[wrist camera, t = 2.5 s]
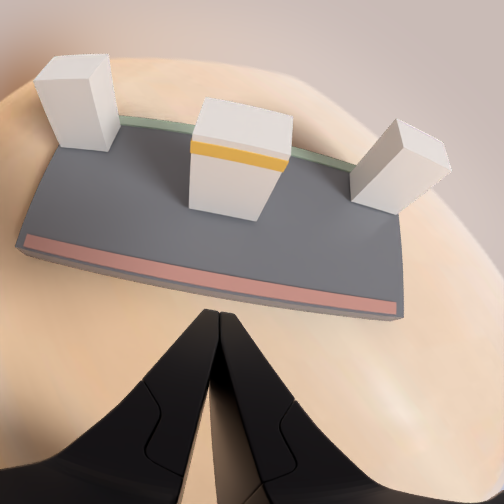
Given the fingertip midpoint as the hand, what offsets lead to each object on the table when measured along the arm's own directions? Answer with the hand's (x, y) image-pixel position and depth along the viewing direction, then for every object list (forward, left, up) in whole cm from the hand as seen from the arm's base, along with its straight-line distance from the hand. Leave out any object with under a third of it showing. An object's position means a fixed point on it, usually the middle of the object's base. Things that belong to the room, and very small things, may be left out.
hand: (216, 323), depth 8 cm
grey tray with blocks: (+4, +10, -13) cm, 17 cm away
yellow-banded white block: (+4, +10, -11) cm, 15 cm away
